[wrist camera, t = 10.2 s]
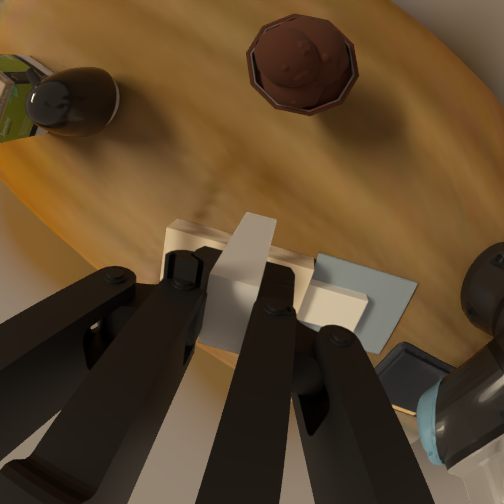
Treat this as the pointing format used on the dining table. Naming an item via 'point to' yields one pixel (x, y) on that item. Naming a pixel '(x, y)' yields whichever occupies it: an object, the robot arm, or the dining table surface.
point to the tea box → (17, 96)
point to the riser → (197, 236)
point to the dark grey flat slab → (409, 375)
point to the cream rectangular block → (331, 305)
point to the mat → (378, 294)
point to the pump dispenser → (72, 101)
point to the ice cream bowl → (302, 64)
